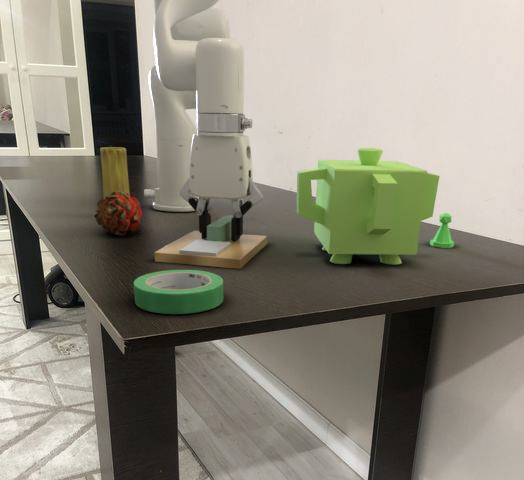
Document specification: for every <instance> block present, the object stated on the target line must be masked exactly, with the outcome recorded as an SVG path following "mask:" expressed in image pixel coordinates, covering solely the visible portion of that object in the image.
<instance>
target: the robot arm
mask: <svg viewBox="0 0 524 480" xmlns="http://www.w3.org/2000/svg"><path fill="white" fill-rule="evenodd" d="M219 1H220V0H153V16H154V17H153V18H154V22H153V32H152V33H153V34H152V35H153V46H154V47H153V48H154V55H155V63H156V64H153V66H152V67H151V68H150V71H149V74H148V85H149V91H150V96H151V101H152V106H153V107H152V108H153V116H154V124H155V125H154V126H155V143H156V164H157V165H156V166H157V184H158V187H156V188H154V189H150V188H145V189H144V190H143V196H144V198H145V199H154V202H152V209H154V210H157V211H161V212H171V213H189V212H195V213H196V215H197V216H198V231H199V232H200V233H201V235H202V239H206V238H207V226H208V225H210V224H211V223H212V214H211V213H210V212H209V206H210V203H211V199H219V200H230V202H231V206H232V211H233V216H234V217H233V218H232V219H231V240H232V241H237V240H238V239H240V236H242V234H244V216H245V215H246V214H247V212H249V211H250V210H251V209H252V208H253V207H254V206H255V205H257V204H258V203H260V202H261V201H263V199H264V195H263V194H262V192H261V190H260V189H259V187H257V184H255V181H254V175H253V173H254V172H253V159H252V149H251V142H250V136H249V135H245V134H244V133H245V132H246V130H248V129H252V128H253V119H252V118H247V117H246V114H245V48H244V46H243V44H242V43H241V42H240V41H239V40H237V39H233V38H231V27H230V21H229V18H228V15H227V13H226V12H225V10H223V9H222V8H221V7H218V6H215V5H216V4H217V3H218V2H219ZM186 110H196V124H195V122H194V120H193V119H191V117H190V116H189V114H188V113H187V111H186ZM249 196H251V197H250V198H249V199H248V200H247V201H245V202H244V199H245V198H246V197H249Z"/></svg>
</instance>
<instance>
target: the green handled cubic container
mask: <svg viewBox="0 0 524 480" xmlns="http://www.w3.org/2000/svg"><path fill="white" fill-rule="evenodd" d="M383 151H384V150H383V149H381V148H375V147H363V148H358V149H357V155H358V159H359V160H356V159H355V160H354V159H319V160H318V161H317V167H316V168H311V169H303V170H298V171H297V172H296V175H297V176H296V214H297V215H299V216H300V217H303V218H306V219H307V220H309V221H312V222H314V223H313V234H314V235H315V236H316V238H317V240H318V241H319V242H320V243H321V245H322V247H321V250H322V251H326V252H327V253H328V255H332V256H331V257H330V259H329V262H331V263H333V264H338V265H347V264H351V263H352V260H353V256H354V255H379V260H380V261H379V262H381V263H382V264H386V265H401V264H402V259H401V258H400V256H399V255H402V256H403V255H404V256H406V255H407V256H411V255H412V256H417V254H418V247H419V241H420V240H419V239H420V233H421V225H422V221H425V220H427V219H430V218H433V216H434V210H435V205H436V198H437V194H438V187H439V182H440V175H438V174H434V173H429V172H428V170H426V169H423V168H420V167H417V166H414V165H410V164H407V163H404V162H400V161H398V160H380V159H381V157H382V155H383ZM312 181H316V189H315V203H314V202H313V189H312Z"/></svg>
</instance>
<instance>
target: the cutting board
mask: <svg viewBox="0 0 524 480" xmlns="http://www.w3.org/2000/svg"><path fill="white" fill-rule="evenodd" d="M195 240H207V238H206V239H202V235H201V233H200V232H199V230H192V231H191V232H189V233H187V234H185V235H184V236H182V237H180V238H178V239H176V240H175V241H173V242H171V243H169V244H167V245H165V246H163V247H162V248H159V249H158V250H156V251H155V252H154V263H155V262H157V263H166V264H167V263H169V264H179V265H180V264H181V265H191V266H202V267H212V268H213V267H215V268H225V269H234V270H235V269H237V270H240V269H242V268H243V267H244V266H245V265H246V264H247V263H248V262H250V260H252V259H253V258H254V257H255V256H256V255H257V254H259V252H261V250H263V249H264V247H266V246H267V245H268V236H267V235H259V234H244V233H243V234H242V236H240V239H238V240H237V241H232V240H231V238H229V239H228V240H227V241H225V242H231V246H230V247H228V248H227V249H226V250H224V251H223V252H222V253H220V254H219V255H218V256H216V257H213V256H201V255H189V254H180V253H179V250H180V249H182V248H184V247H185V246H187V245H189V244H190V243H192V242H194V241H195Z"/></svg>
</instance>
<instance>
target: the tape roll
mask: <svg viewBox="0 0 524 480" xmlns="http://www.w3.org/2000/svg"><path fill="white" fill-rule="evenodd" d="M133 293H134V303H135V306H137V307H138V308H139V309H141V310H143V311H145V312H146V311H147V312H150V313H156V314H163V315H187V314H195V313H201V312H206V311H210V310H213V309H215V308H217V307H219V306H220V305H221V304H222V303H223V302H224V279H223V278H222V277H221V276H220V275H218V274H216V273H213V272H211V271H210V272H209V271H205V270H198V269H167V270H160V271H154V272H149V273H146V274H143V275H141V276H139V277H137V278H136V279H135V280H134V281H133Z"/></svg>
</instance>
